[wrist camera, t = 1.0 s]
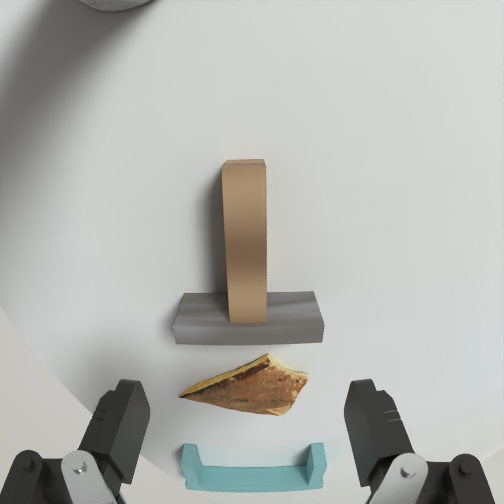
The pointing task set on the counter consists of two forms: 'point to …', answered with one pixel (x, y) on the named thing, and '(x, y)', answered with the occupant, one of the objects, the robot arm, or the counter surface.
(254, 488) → the u-shaped bracket
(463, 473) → the robot arm
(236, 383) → the shard
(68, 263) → the counter surface
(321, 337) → the hammer
